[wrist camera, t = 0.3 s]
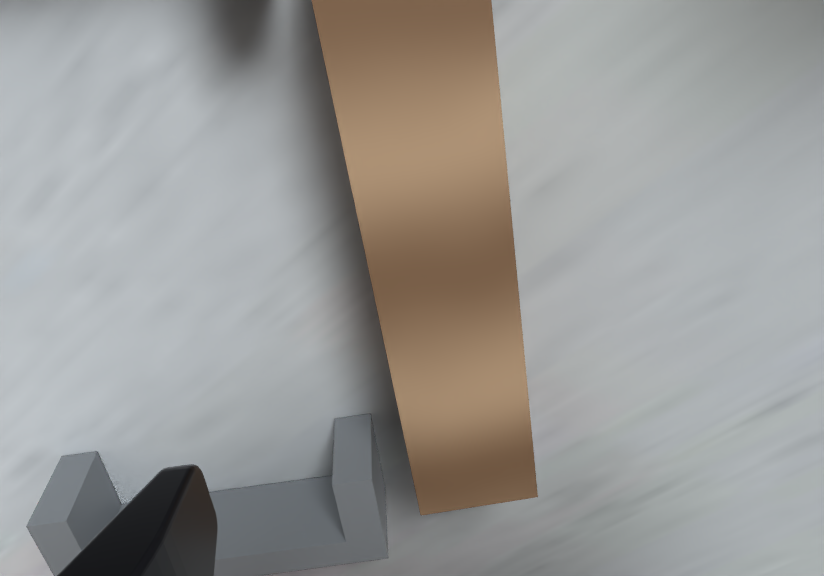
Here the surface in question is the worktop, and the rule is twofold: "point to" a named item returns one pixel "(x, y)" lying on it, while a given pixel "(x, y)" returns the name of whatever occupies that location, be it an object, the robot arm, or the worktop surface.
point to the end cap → (242, 512)
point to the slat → (437, 236)
